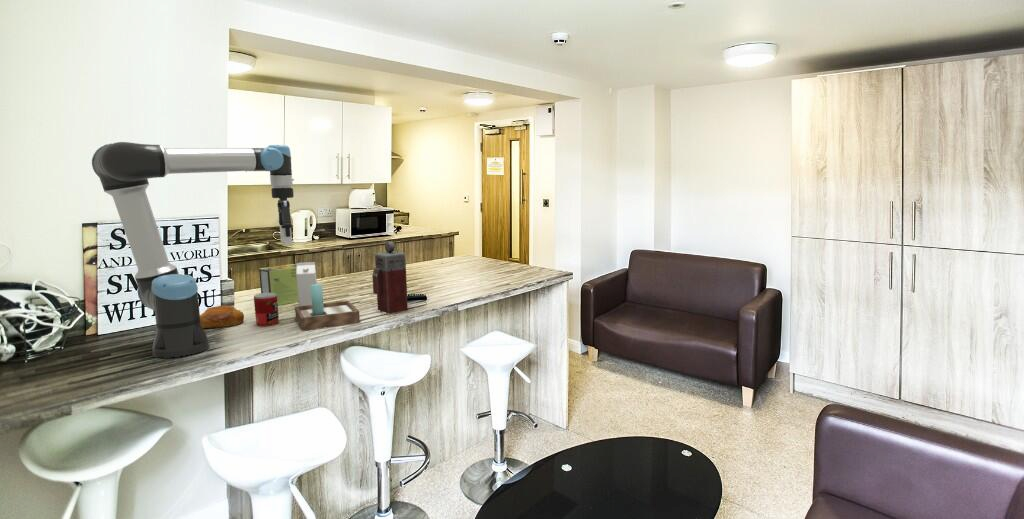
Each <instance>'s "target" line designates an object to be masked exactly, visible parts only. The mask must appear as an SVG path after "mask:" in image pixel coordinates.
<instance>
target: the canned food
mask: <svg viewBox="0 0 1024 519" xmlns="http://www.w3.org/2000/svg"><path fill="white" fill-rule="evenodd" d="M253 302H254V303H253V305H254V314H255V324H256V325H257V326H259V327H270V326H274V325H277V324H279V321H280V319H279V305H278V302H277V294H276V293H261V292H260V293H256V294H255V295H253Z"/></svg>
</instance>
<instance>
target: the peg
mask: <svg viewBox="0 0 1024 519" xmlns="http://www.w3.org/2000/svg"><path fill="white" fill-rule="evenodd" d="M323 292H324V290H323V284H322V283H317V284H313V285H311V298H312V312H313V316H318V315H324V306H323V303H324V295H323Z"/></svg>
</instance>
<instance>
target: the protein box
mask: <svg viewBox="0 0 1024 519" xmlns="http://www.w3.org/2000/svg"><path fill="white" fill-rule="evenodd" d="M258 272H259V284H260V293H276V294H277V302H278V306H283V304H284V305H288V303H289V304H294V303H293V302H295V303H299V302H298V288H297V274H296V272H297V264H294V263H291V264H282V265H276V266H269V267H261V268H258Z"/></svg>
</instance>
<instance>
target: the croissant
mask: <svg viewBox="0 0 1024 519" xmlns="http://www.w3.org/2000/svg"><path fill="white" fill-rule="evenodd" d="M244 320H245V314H244V311H241V310H240V309H237V308H235V307H234V306H233V305H232V306H231V305H216V306H211V307H208V308H207V309H206V310H204V312H202V313H201V314H200V322H201V325H202V327H203V329H213V328H214V327H215V328H224V327H231V326H236V325H239V324H242V323H244Z"/></svg>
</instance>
